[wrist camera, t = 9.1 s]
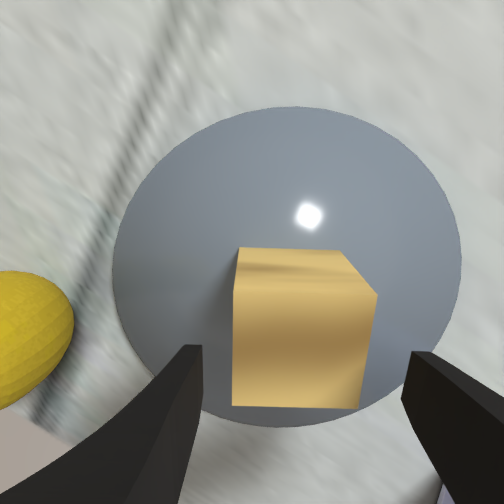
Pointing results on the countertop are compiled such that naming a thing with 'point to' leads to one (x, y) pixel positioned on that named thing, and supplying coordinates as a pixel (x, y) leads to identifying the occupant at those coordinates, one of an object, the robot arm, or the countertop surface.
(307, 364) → the cube
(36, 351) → the lemon
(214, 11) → the countertop surface
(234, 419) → the plate
